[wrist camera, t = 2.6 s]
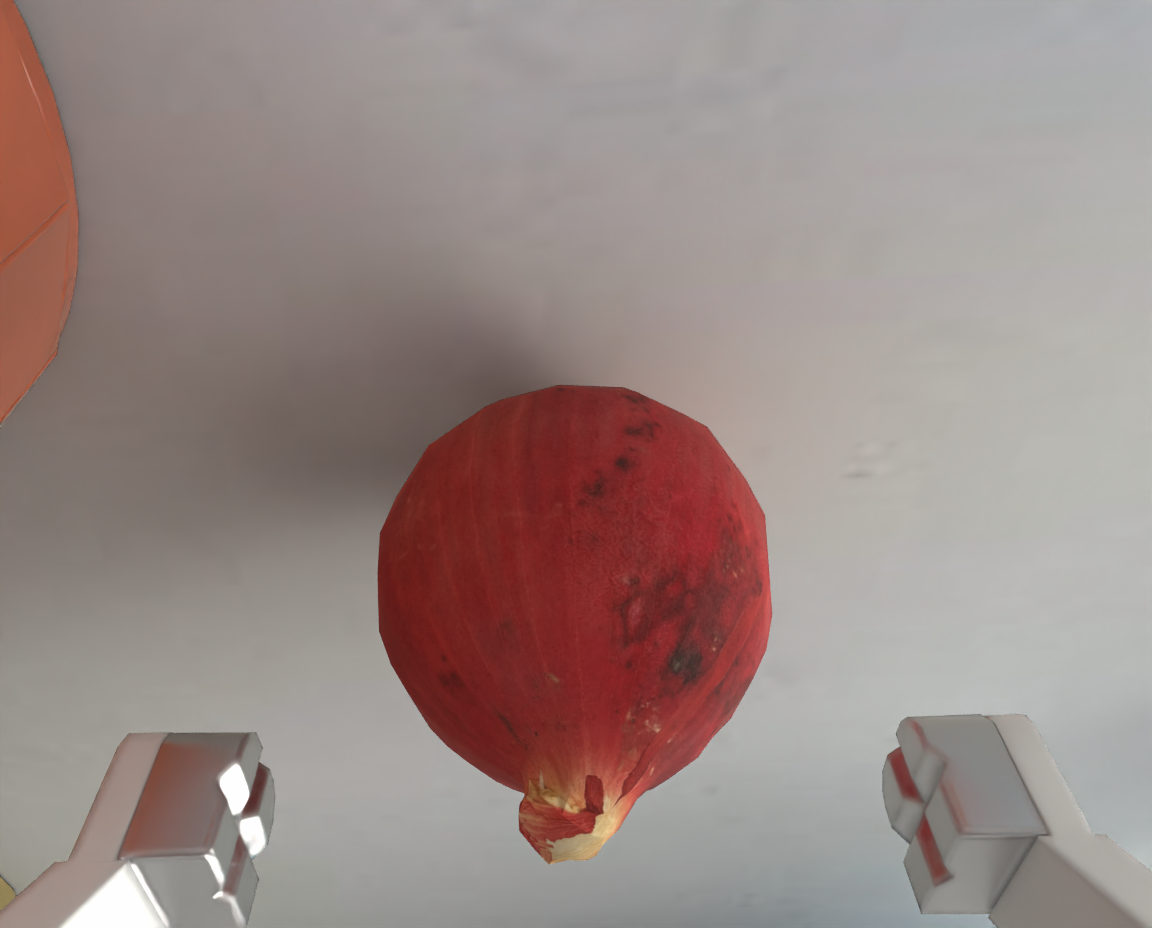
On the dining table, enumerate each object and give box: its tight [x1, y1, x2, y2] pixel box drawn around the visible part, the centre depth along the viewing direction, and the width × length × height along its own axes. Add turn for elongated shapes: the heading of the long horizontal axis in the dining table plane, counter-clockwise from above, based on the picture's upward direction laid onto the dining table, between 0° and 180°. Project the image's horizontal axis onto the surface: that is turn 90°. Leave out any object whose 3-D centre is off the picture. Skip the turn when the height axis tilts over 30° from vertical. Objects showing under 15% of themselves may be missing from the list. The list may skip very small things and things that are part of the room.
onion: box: [378, 385, 772, 864], centre depth 13 cm, size 6×6×8 cm
